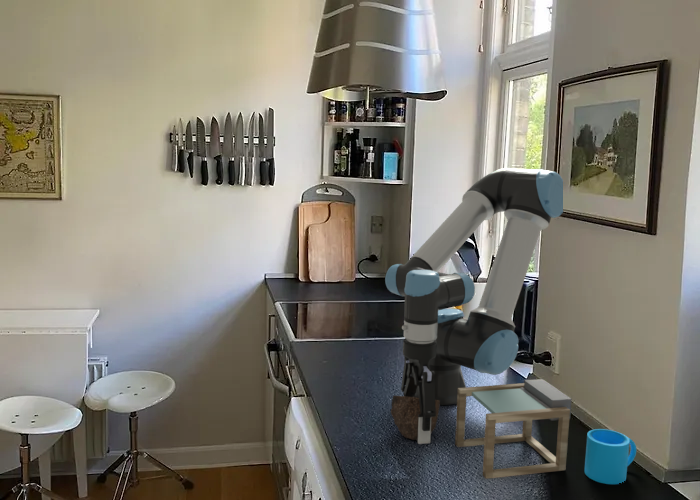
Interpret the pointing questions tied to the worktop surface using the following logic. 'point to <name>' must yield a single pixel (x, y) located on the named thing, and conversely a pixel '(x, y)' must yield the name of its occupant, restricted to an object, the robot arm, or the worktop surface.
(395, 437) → the worktop surface
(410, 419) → the rock
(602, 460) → the mug
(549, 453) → the frame
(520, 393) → the trapdoor
